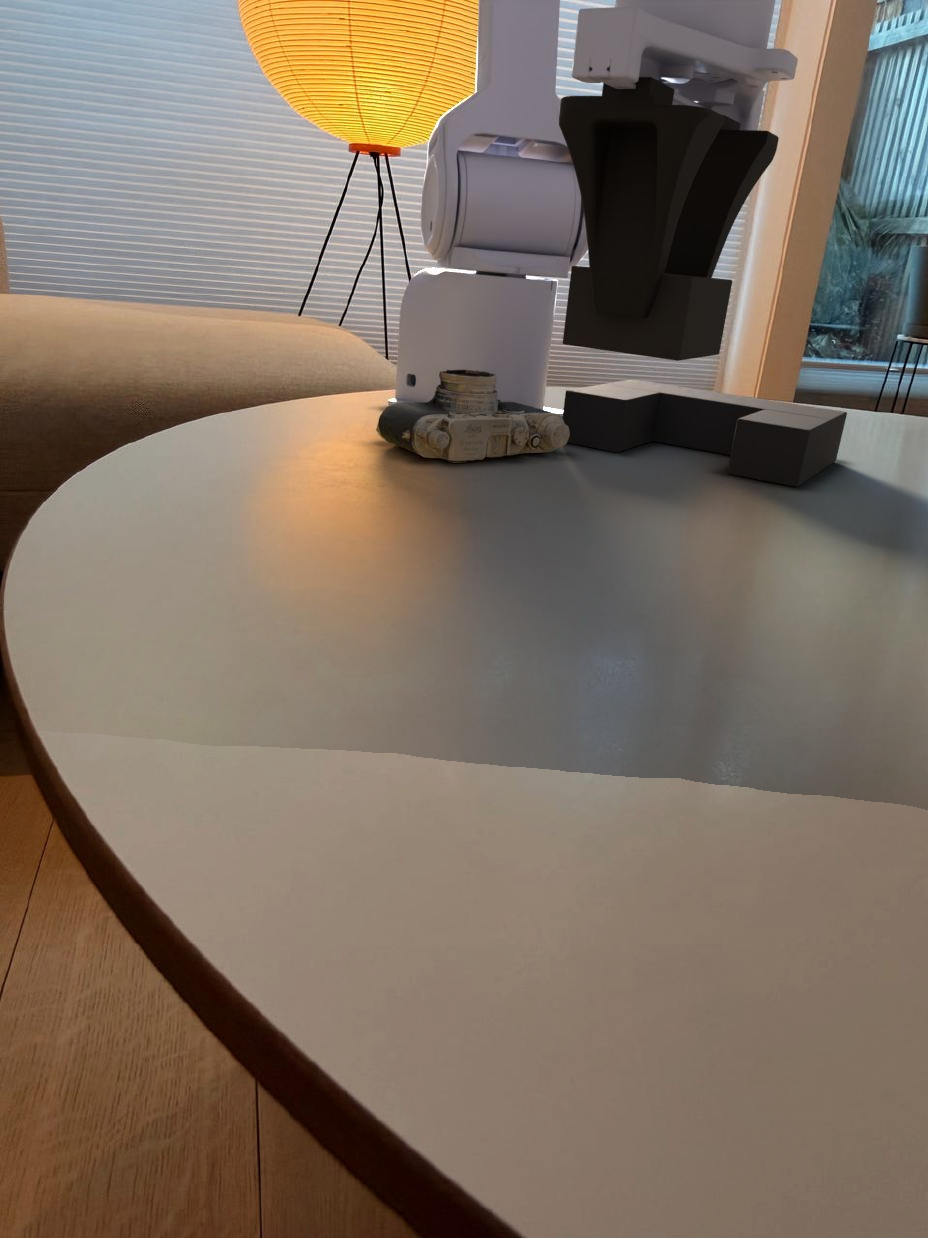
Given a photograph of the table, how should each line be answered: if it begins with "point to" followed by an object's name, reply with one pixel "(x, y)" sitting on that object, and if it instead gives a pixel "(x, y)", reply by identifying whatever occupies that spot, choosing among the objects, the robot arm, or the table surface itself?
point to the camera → (470, 422)
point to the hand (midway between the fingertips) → (647, 314)
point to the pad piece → (652, 319)
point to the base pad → (708, 427)
